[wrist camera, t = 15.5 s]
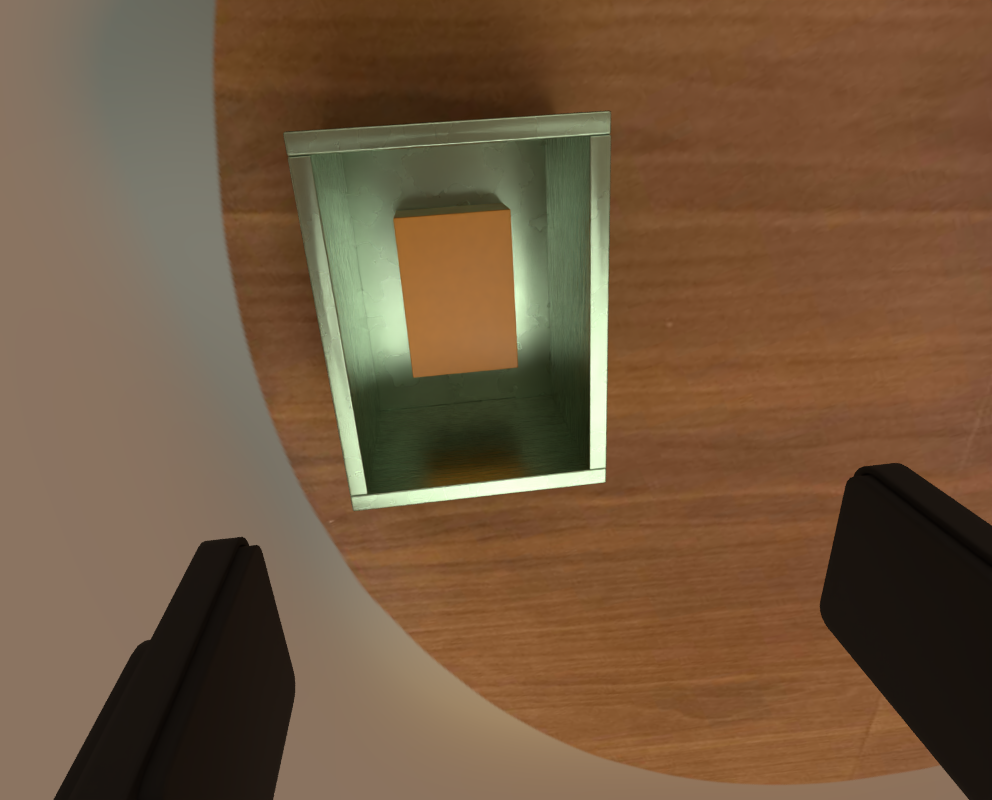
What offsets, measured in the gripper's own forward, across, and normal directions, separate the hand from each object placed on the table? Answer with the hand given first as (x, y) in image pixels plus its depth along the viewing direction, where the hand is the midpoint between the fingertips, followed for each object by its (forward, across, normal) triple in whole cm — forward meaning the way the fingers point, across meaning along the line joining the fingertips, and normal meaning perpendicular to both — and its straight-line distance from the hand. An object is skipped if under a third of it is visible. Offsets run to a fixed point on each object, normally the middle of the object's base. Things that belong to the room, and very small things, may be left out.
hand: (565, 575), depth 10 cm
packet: (+25, 0, +1) cm, 25 cm away
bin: (+25, 0, +1) cm, 25 cm away
